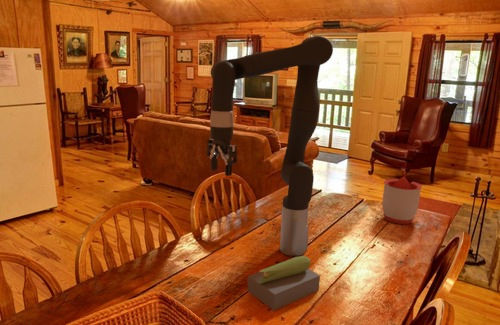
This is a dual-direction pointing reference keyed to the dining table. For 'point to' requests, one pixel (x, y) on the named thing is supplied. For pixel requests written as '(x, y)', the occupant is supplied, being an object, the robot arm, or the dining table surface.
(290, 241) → the robot arm
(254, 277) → the plinth
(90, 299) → the dining table surface
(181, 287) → the dining table surface
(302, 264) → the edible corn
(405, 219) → the citrus juicer
